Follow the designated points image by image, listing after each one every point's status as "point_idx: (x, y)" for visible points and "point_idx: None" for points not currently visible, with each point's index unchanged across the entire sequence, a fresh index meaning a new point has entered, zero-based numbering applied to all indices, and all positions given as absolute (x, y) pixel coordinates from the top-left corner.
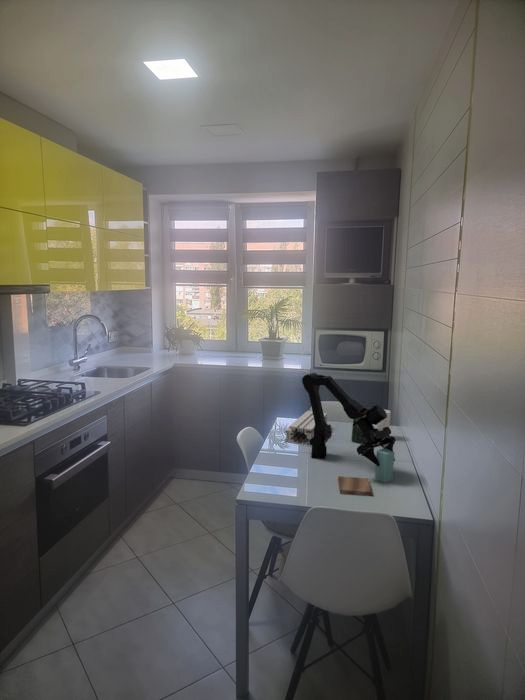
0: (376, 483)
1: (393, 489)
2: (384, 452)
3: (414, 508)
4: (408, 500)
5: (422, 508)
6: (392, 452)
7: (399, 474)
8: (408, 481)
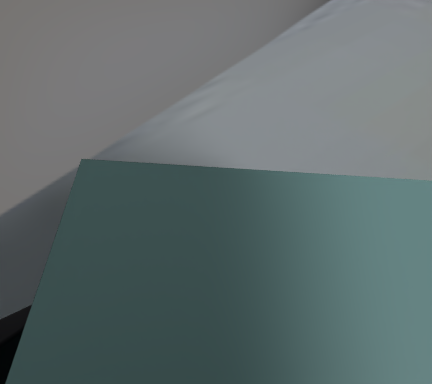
0: None
1: None
2: (380, 347)
3: (387, 29)
4: (350, 78)
5: (348, 14)
6: (139, 179)
7: None
8: None
